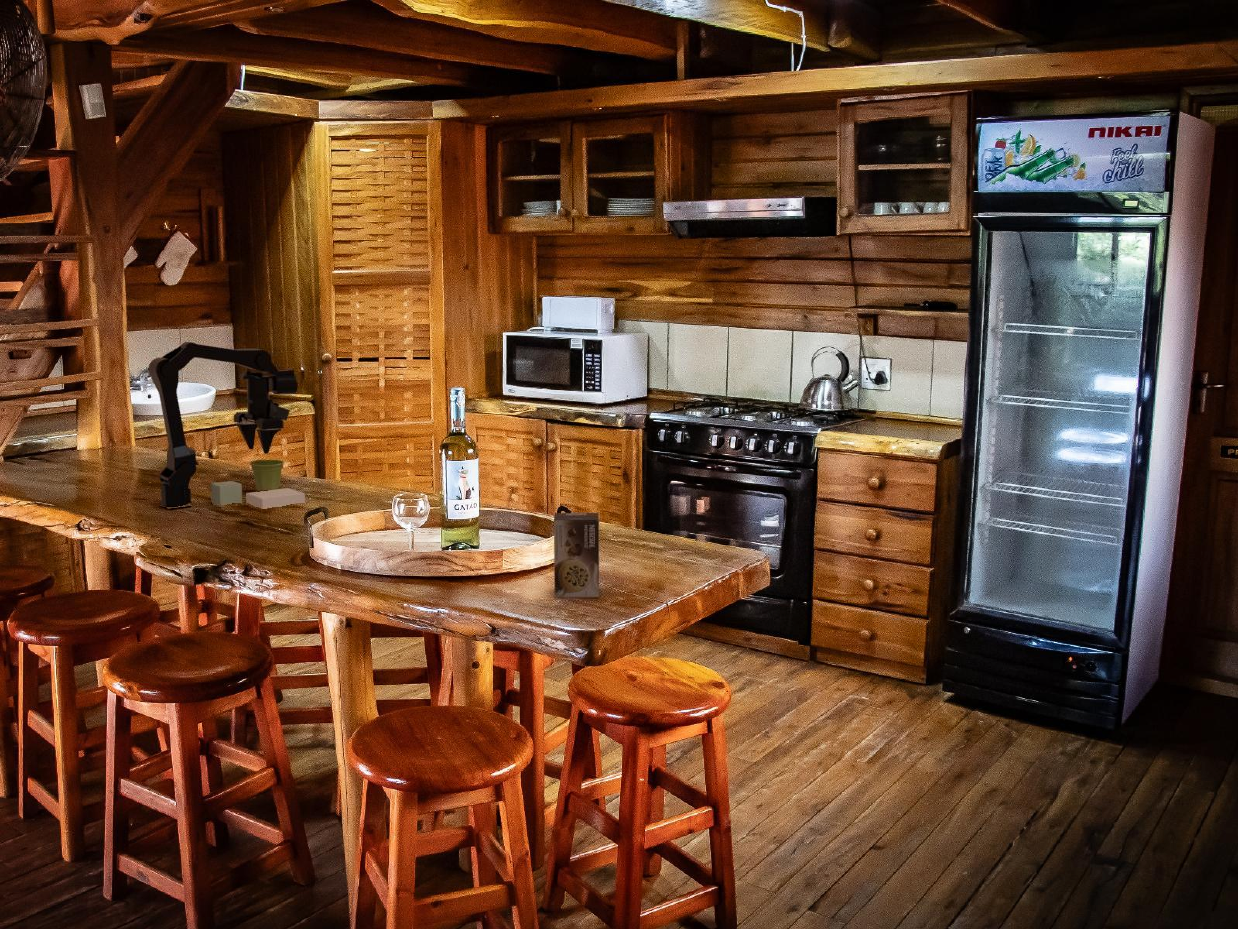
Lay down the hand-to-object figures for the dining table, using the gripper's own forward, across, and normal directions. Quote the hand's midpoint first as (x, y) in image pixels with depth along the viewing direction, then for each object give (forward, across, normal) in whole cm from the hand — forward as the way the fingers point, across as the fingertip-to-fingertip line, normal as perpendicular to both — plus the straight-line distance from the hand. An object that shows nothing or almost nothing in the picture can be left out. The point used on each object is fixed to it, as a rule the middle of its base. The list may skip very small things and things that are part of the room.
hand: (258, 451), depth 328 cm
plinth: (+13, -14, +2) cm, 19 cm away
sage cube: (+13, -4, +11) cm, 18 cm away
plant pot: (+13, +6, -5) cm, 15 cm away
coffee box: (+13, -129, -6) cm, 130 cm away
